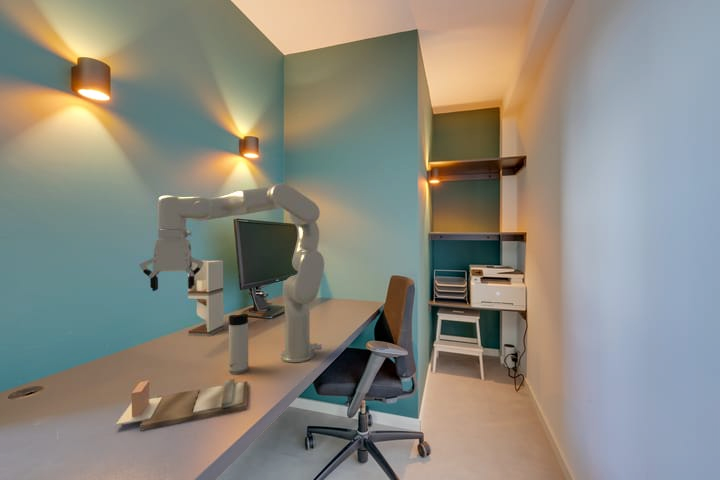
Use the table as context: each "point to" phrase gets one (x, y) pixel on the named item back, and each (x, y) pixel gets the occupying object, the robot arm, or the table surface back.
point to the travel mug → (238, 343)
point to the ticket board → (199, 404)
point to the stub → (140, 405)
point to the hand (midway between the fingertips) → (173, 289)
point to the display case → (208, 297)
